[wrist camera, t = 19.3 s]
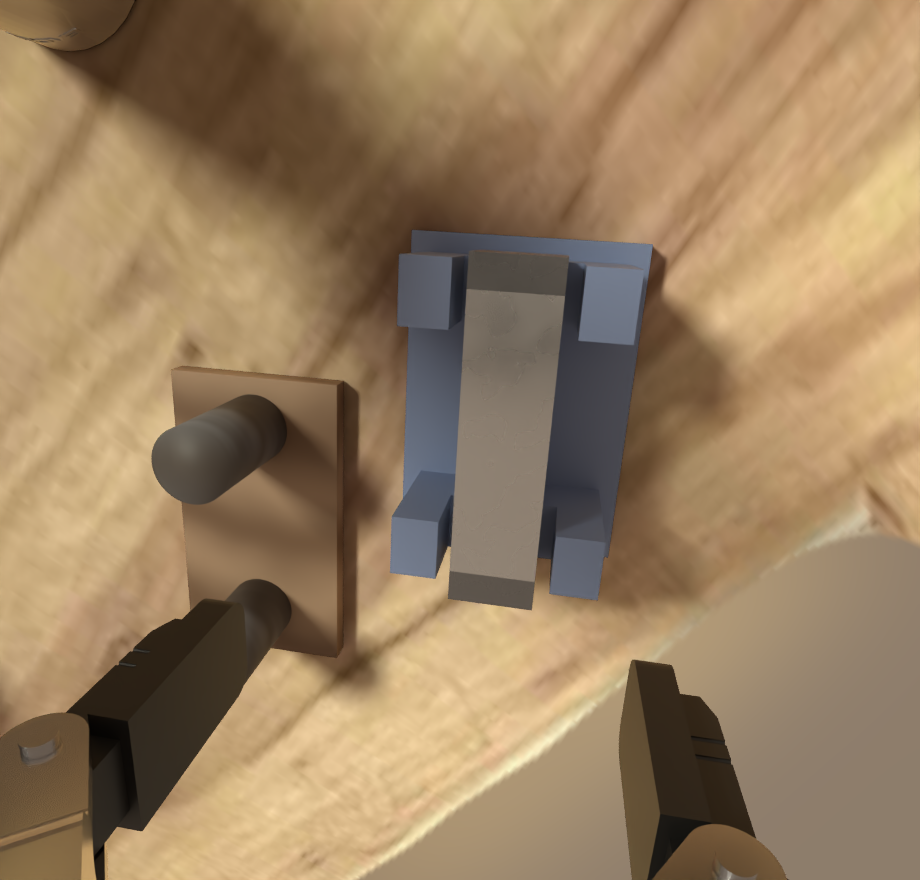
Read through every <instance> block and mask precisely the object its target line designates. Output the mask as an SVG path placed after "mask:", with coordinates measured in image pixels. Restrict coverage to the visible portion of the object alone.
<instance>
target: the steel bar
mask: <svg viewBox="0 0 920 880" xmlns="http://www.w3.org/2000/svg"><path fill="white" fill-rule="evenodd" d="M568 264H569V255H557V254H542V253H526V252H511V251H495V250H472V251H469V258H468V275H467V292H466V308H465V325H464V342H463V358H462V375H461V392H460V408H459V425H458V441H457V458H456V475H455V491H454V508H453V525H452V541H451V558H450V575H449V591H448V599H453V600H461V601H468V602H475V603H482V604H490V605H497V606H504V607H512V608H519V609H526V610H532V603H533V593H534V584H535V574H536V565H537V556H538V546H539V537H540V527H541V518H542V509H543V499H544V490H545V480H546V471H547V461H548V452H549V443H550V433H551V424H552V414H553V405H554V396H555V386H556V377H557V367H558V358H559V349H560V339H561V330H562V320H563V311H564V302H565V292H566V283H567V273H568Z"/></svg>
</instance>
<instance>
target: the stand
mask: <svg viewBox="0 0 920 880" xmlns="http://www.w3.org/2000/svg"><path fill="white" fill-rule="evenodd" d="M171 377H172V389H173V401H174V414H175V427H173V428H171V429H169V430H167V431H166V432H164V433H163V434H162V435H160V437H159V438H158V439H157V441H156V442H155V444H154V447H153V450H152V467H153V471H154V474H155V476H156V478H157V480H158V482H159V483H160V485H161V486H162V487H163V488H164V489H165V491H167V492H168V493H169V494H170V495H171V496H173V497H174V498H176V499H177V500H180V501H182V512H183V525H184V537H185V549H186V562H187V574H188V587H189V599H190V611H191V610H192V609H193V608H194V607H195V606H196V605H197V604H198V603H199V602H200V601H201V600H203V599H206V598H208V599H215V600H222V601H229V602H236V603H240V604H242V606H243V608H244V613H245V630H246V648H247V674H246V679H245V682H244V684H245V683H246V681H247V680H248V679H249V677H250V676H251V674H252V673H253V672H254V670H255V669H256V668H257V666H258V665H259V663H260V662H261V661H262V659H263V658H264V656H265V655H266V654H267V652H268V651H269V650H270V648H275V649H281V650H288V651H295V652H301V653H308V654H314V655H321V656H327V657H334V658H337V657H338V655H339V653H340V651H341V650H342V648H343V460H344V381H339V380H328V379H318V378H307V377H296V376H286V375H275V374H264V373H253V372H243V371H232V370H221V369H211V368H200V367H189V366H181V367H178V368H175V369H171Z"/></svg>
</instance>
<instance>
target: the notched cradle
mask: <svg viewBox="0 0 920 880" xmlns="http://www.w3.org/2000/svg"><path fill="white" fill-rule="evenodd" d="M652 247H653V244H637V243H621V242H604V241H588V240H571V239H555V238H538V237H522V236H505V235H489V234H472V233H456V232H439V231H422V230H412V240H411V253H403V254H399V274H398V310H397V326H402V327H409V330H408V360H407V390H406V420H405V450H404V480H403V500H402V501H401V503H400V504H399V506H398V508H397V509H396V511H395V512H394V514H393V515H392V525H391V561H390V573H396V574H403V575H411V576H418V577H426V578H433V579H435V578H436V576H437V573H438V571H439V568H440V565H441V563H442V560H443V558H444V555H445V552H446V550H447V547H448V546H450V547H451V541H452V525H453V508H454V491H455V475H456V458H457V441H458V425H459V408H460V392H461V375H462V358H463V342H464V325H465V308H466V292H467V275H468V258H469V251H472V250H495V251H511V252H526V253H542V254H557V255H569V264H568V273H567V283H566V292H565V302H564V311H563V320H562V330H561V339H560V349H559V358H558V367H557V377H556V386H555V396H554V405H553V414H552V424H551V433H550V443H549V452H548V461H547V471H546V480H545V490H544V499H543V509H542V518H541V527H540V537H539V546H538V556H537V558H545V559H551V571H550V592H549V594H553V595H561V596H569V597H576V598H584V599H591V600H598V595H599V588H600V580H601V573H602V566H603V559H604V557H608V554H609V547H610V540H611V533H612V526H613V519H614V512H615V505H616V498H617V491H618V484H619V477H620V470H621V463H622V456H623V450H624V443H625V436H626V429H627V422H628V415H629V408H630V401H631V394H632V387H633V380H634V373H635V366H636V359H637V352H638V345H639V338H640V331H641V324H642V317H643V310H644V303H645V296H646V289H647V282H648V275H649V268H650V261H651V254H652Z"/></svg>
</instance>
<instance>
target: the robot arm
mask: <svg viewBox="0 0 920 880" xmlns="http://www.w3.org/2000/svg"><path fill="white" fill-rule="evenodd" d="M134 1H135V0H0V29H1V30H4V31H5V32H7V33H9V34H13V35H14V36H17V37H19V38H22V39H25V40H30V41H33V42H36V43H38V44H41V45H44V46H47V47H49V48H52V49H58V50H64V51H76V50H85V49H88V48H90V47H93V46H95V45H98V44H100V43H102V42H103V41H105V40H106V39H107V38H108V37H110V36H111V35H112V34H114V33H115V32H116V30H117V29H118V28H119V27H120V25H121V24H122V23H123V22H124V20H125V19H126V18H127V16H128V14H129V11H130V9H131V7H132V5H133V3H134ZM246 674H247V648H246V630H245V613H244V608H243V606H242V604H240V603H236V602H229V601H222V600H215V599H208V598H206V599H203V600H201V601H200V602H199V603H198V604H197V605H196V606H195V607H194V608H193V609H192V610H191V611H190V612H189V613H188V614H187V615H186V616H185V617H184V618H183V619H182V620H181V619H174V620H172V621H170V622H168V623H166V624H164V625H162V626H161V627H159V628H157V629H155V630H153V631H151V632H150V633H149V634H148V635H147V636H146V637H145V638H144V639H143V640H142V641H141V642H139V643H138V644H137V645H136V646H135V647H134V649H133V652H131V651H130V652H129V653H128V654H127V655H126V656H125V657H124V658H123V659H122V660H121V661H119V665H115V666H114V667H113V668H112V669H111V670H110V671H109V672H108V673H107V674H106V675H105V676H104V677H103V678H102V679H101V680H99V681H98V682H97V683H96V684H95V685H94V686H93V687H92V688H91V689H90V690H89V691H88V692H87V693H86V694H85V695H84V696H83V697H82V698H81V699H79V700H78V701H77V702H76V703H75V704H74V705H73V706H72V707H71V708H70V709H69V710H68V711H67V712H66V713H52V714H47V715H42V716H39V717H36V718H33V719H30V720H28V721H26V722H24V723H22V724H20V725H18V726H16V727H14V728H13V729H11V730H10V731H8V732H7V733H6V734H4V735H3V736H2V737H1V738H0V880H108V852H107V845H106V841H107V839H108V838H109V837H110V835H111V834H112V833H113V831H114V830H115V829H116V827H122V828H127V829H132V830H137V831H143V830H144V828H145V827H146V825H147V824H148V823H149V821H150V820H151V818H152V817H153V816H154V814H155V813H156V811H157V810H158V809H159V807H160V806H161V804H162V803H163V801H164V800H165V799H166V797H167V796H168V794H169V793H170V792H171V790H172V789H173V787H174V786H175V785H176V783H177V782H178V780H179V779H180V778H181V776H182V775H183V773H184V772H185V771H186V769H187V768H188V766H189V765H190V764H191V762H192V761H193V759H194V758H195V757H196V755H197V754H198V752H199V751H200V750H201V748H202V747H203V745H204V744H205V743H206V741H207V740H208V738H209V737H210V736H211V734H212V733H213V731H214V730H215V729H216V727H217V726H218V724H219V723H220V722H221V720H222V719H223V717H224V716H225V715H226V713H227V712H228V710H229V709H230V708H231V706H232V705H233V703H234V702H235V700H236V699H237V698H238V696H239V694H240V693H241V690H242V688H243V685H244V682H245V679H246ZM619 759H620V760H619V761H620V770H621V780H622V788H623V798H624V808H625V818H626V827H627V837H628V846H629V856H630V865H631V875H632V880H788V879H787V878H786V874H785V872H784V870H783V868H782V866H781V865H780V863H779V862H778V860H777V859H776V857H775V856H774V855H773V854H772V853H771V851H770V850H769V849H768V848H766V847H765V846H764V845H763V844H762V843H761V842H759V841H758V840H757V839H756V837H755V834H754V831H753V827H752V824H751V821H750V818H749V815H748V812H747V809H746V805H745V802H744V799H743V796H742V793H741V790H740V787H739V783H738V780H737V777H736V774H735V771H734V768H733V765H731V758H730V755H729V752H728V749H727V746H726V745H725V740H724V737H723V734H722V730H721V727H720V724H719V721H718V718H717V717H716V716H715V714H714V713H713V712H712V711H711V710H710V709H709V707H708V706H707V705H706V704H705V702H704V701H703V700H702V699H701V698H700V697H698V696H691V695H683V694H680V693H679V689H678V685H677V682H676V677H675V673H674V669H673V667H672V665H667V664H660V663H653V662H646V661H639V660H632V661H631V664H630V669H629V675H628V681H627V687H626V693H625V700H624V705H623V712H622V718H621V724H620V734H619Z"/></svg>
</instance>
